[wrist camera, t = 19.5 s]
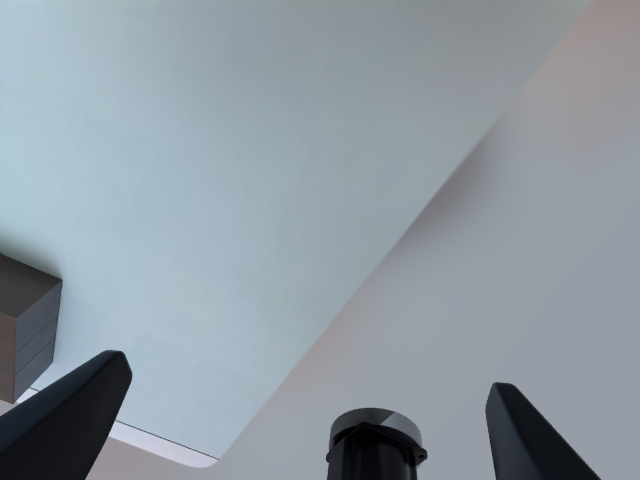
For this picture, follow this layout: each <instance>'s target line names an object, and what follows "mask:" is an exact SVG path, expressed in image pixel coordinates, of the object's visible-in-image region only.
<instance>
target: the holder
mask: <svg viewBox="0 0 640 480" xmlns="http://www.w3.org/2000/svg"><path fill="white" fill-rule="evenodd" d="M61 286H62V280H59V279H57V278H55V277H52V276H50V275H48V274H45V273H43V272H41V271H39V270H36V269H34V268H32V267H29V266H27V265H25V264H22V263H20V262H18V261H15V260H13V259H11V258H8V257H6V256H4V255H1V254H0V400H3V401H6V402H8V403H11V404H13V403H15V402H16V400H17V399H18V398H19V397H20V396H21V395H22V394H23V393H24V392H25V391H26V390H27V389H28V388H29V387H30V386H31V385H32V384H33V383H34V382H35V381H36V380H37V379H38V378H39V376H40V375H41V374H42V373H43V372H44V371H45V370H46V369H47V368H48V367H49V366H50V365H51V364H52V358H53V350H54V341H55V335H56V326H57V318H58V310H59V302H60V294H61Z"/></svg>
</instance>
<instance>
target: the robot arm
mask: <svg viewBox="0 0 640 480" xmlns="http://www.w3.org/2000/svg"><path fill="white" fill-rule="evenodd" d="M131 381H132V371H131V368H130V366H129V363H128V361H127V359H126V356H125V354H124V353H123V352H122V351H116V350H106V351H104V352H102V353H100V354H99V355H97V356H95V357H94V358H92V359H91V360H89V361H87V362H86V363H84V364H83V365H81V366H79V367H78V368H76V369H75V370H73V371H72V372H70V373H68V374H67V375H65V376H64V377H62V378H60V379H59V380H57V381H56V382H54V383H52V384H51V385H49V386H48V387H46V388H44V389H43V390H41V391H40V392H38V393H37V394H35V395H33V396H32V397H30V398H29V399H27V400H25V401H24V402H22V403H21V404H19V405H17V406H16V407H14V408H13V409H11V410H10V411H8V412H7V413H5V414H4V415H2V416H0V480H85V479H86V477H87V475H88V473H89V472H90V470H91V468H92V466H93V464H94V462H95V460H96V458H97V457H98V455H99V453H100V451H101V449H102V447H103V445H104V443H105V441H106V439H107V437H108V435H109V433H110V431H111V428H112V426H113V424H114V421H115V419H116V417H117V414H118V412H119V410H120V407H121V405H122V402H123V400H124V398H125V395H126V393H127V391H128V388H129V386H130V384H131ZM486 420H487V426H488V432H489V439H490V445H491V451H492V456H493V463H494V469H495V476H496V480H601V479H600V478H599V477H598V476H597V474H596V473H595V472H594V471H593V470H592V469H591V468H590V467H589V466H588V465H587V464H586V463H585V461H584V460H583V459H582V458H581V457H580V456H579V455H578V454H577V453H576V452H575V451H574V450H573V448H572V447H571V446H570V445H569V444H568V443H567V442H566V441H565V440H564V439H563V437H562V436H561V435H560V434H559V433H558V432H557V431H556V430H555V429H554V428H553V427H552V425H551V424H550V423H549V422H548V421H547V420H546V419H545V418H544V417H543V416H542V415H541V413H540V412H539V411H538V410H537V409H536V408H535V407H534V406H533V405H532V404H531V403H530V401H529V400H528V399H527V398H526V397H525V396H524V395H523V394H522V393H521V392H520V391H519V389H517V387H516V386H514V385H513V384H510V383H500V382H495V383H493V385H492V387H491V390H490V394H489V397H488V400H487V403H486ZM426 459H427V451H426V450H425V449H423V448H421V447H419V446H417V445H415V444H413V443H411V442H408V441H406V440H404V439H402V438H400V437H398V436H396V435H394V434H391V433H389V432H387V431H385V430H383V429H381V428H379V427H377V426H374V425H372V424H370V423H368V422H361V423H359V424H358V425H357V426H356V427H355V428H354V429H353V430H352V431H351V432H350V433H348V434H347V435H346V436H345V437H344V438H343V439H342V440H340V441H339V442H338V443H337V444H336V445H335V446H334V447H333V448H332V449H331V450H330V451H329V452H328V453H327V455H326V461H327V462H328V463H329V467H328V476H327V480H417V469H416V466H417V465H419V464H420V463H421V462H423V461H424V460H426Z"/></svg>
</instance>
